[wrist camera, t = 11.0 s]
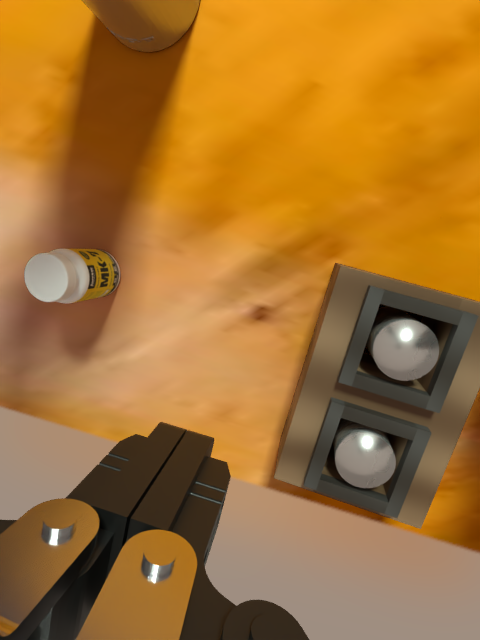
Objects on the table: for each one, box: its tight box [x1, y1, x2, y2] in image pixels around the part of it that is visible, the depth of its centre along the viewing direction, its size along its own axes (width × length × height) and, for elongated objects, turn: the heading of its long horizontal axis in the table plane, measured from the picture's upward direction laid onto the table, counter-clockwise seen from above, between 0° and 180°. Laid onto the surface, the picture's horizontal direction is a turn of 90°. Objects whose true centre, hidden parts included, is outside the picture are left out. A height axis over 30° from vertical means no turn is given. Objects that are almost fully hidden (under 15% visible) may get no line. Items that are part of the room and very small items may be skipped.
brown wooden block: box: [274, 263, 480, 529], centre depth 33 cm, size 18×12×8 cm, turn 165°
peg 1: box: [333, 418, 396, 488], centre depth 33 cm, size 4×4×7 cm
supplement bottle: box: [24, 248, 120, 304], centre depth 36 cm, size 5×5×8 cm
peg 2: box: [366, 307, 439, 381], centre depth 31 cm, size 4×4×7 cm
